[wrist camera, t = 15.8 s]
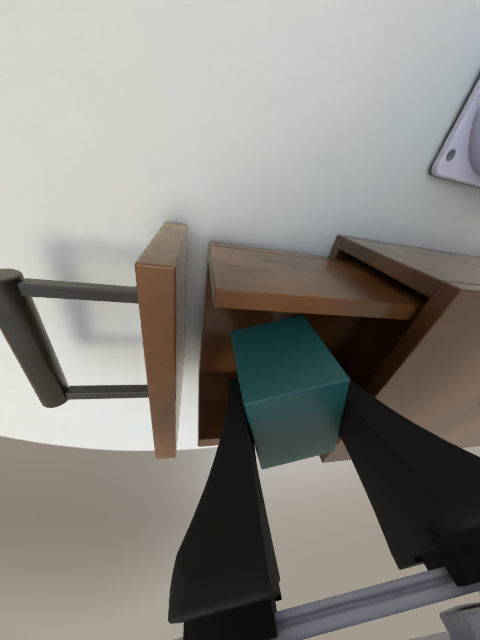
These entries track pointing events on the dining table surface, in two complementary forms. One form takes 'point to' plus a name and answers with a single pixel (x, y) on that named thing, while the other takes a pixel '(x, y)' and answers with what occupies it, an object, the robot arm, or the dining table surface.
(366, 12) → the dining table surface
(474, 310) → the cabinet
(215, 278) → the drawer
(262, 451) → the tea box
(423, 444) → the robot arm
